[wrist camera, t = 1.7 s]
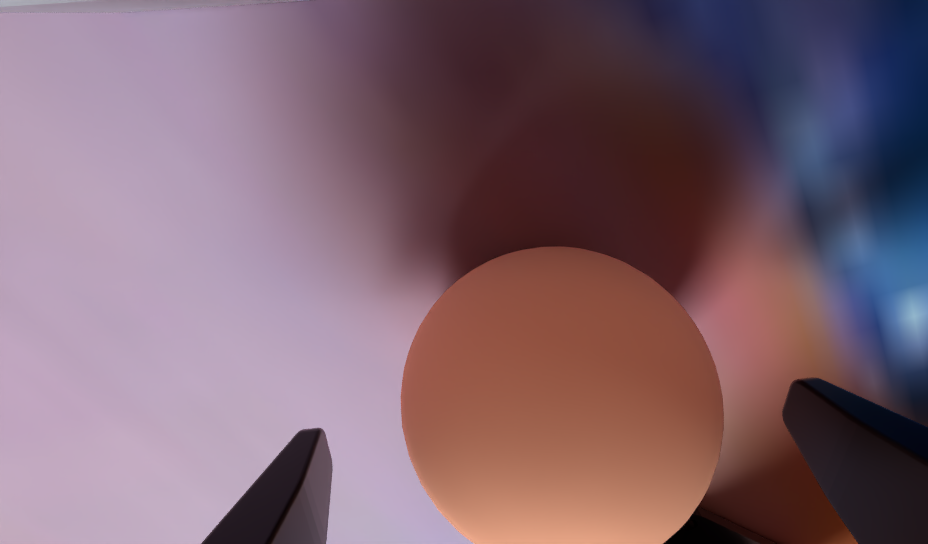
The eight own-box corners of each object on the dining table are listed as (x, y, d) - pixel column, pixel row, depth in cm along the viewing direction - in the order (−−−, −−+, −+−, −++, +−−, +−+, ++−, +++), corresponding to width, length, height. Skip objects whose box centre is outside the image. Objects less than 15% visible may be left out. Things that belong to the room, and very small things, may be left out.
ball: (690, 282, 12) (892, 484, 7) (542, 435, 14) (614, 679, 9) (499, 150, 10) (583, 292, 5) (359, 348, 12) (316, 594, 7)
